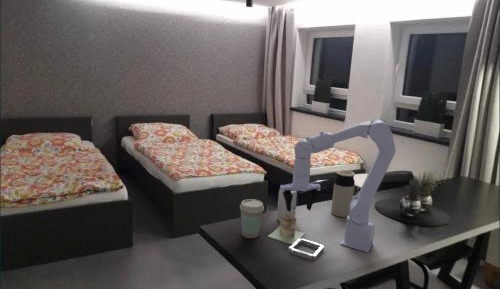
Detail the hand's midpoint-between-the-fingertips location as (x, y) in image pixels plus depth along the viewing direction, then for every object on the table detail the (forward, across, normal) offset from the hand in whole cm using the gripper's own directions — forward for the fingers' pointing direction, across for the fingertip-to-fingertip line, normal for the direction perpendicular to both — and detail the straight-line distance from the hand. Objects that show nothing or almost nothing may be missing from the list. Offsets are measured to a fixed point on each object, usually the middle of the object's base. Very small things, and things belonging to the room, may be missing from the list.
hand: (298, 209), depth 135 cm
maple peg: (+9, -4, -1) cm, 10 cm away
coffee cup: (+9, -17, +2) cm, 20 cm away
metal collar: (+9, -1, -12) cm, 16 cm away
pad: (+9, -4, -1) cm, 10 cm away
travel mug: (+10, +25, +14) cm, 31 cm away
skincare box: (+10, 0, +12) cm, 15 cm away
